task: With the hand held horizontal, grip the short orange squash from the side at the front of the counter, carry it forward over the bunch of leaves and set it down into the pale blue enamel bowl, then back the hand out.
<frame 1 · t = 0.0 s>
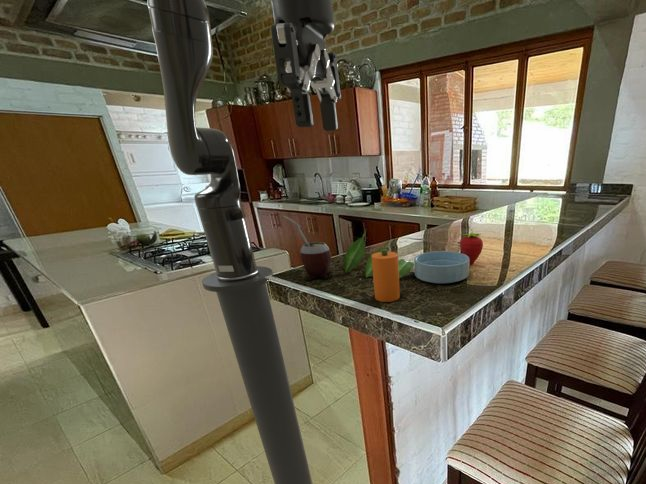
hand: (318, 128, 49), 30 cm above the countertop, tool pointing down, fingers open, 8 cm apart
strawberry: (470, 265, 89), on the countertop
leaves: (379, 274, 84), on the countertop
bowl: (441, 276, 81), on the countertop
mate gourd: (317, 277, 83), on the countertop
vegetable: (387, 297, 70), on the countertop
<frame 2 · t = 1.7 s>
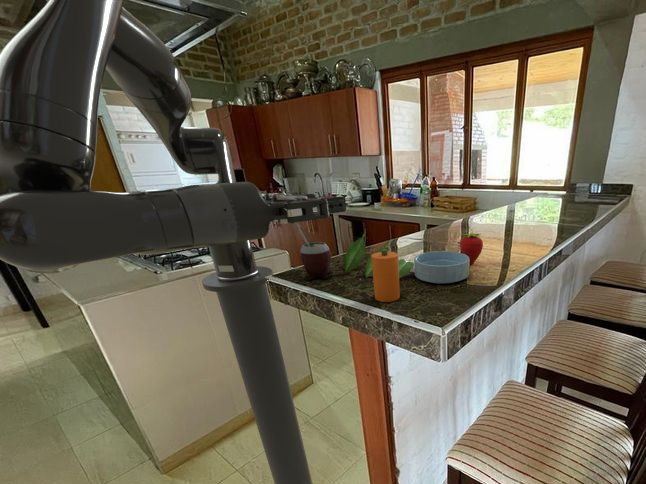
hand: (328, 201, 54), 20 cm above the countertop, tool horizontal, fingers open, 8 cm apart
nothing on the countertop moved.
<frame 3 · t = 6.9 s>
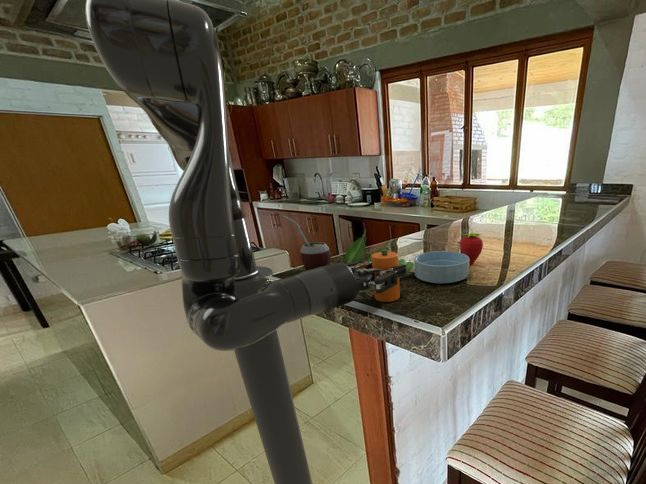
hand: (394, 266, 69), 6 cm above the countertop, tool horizontal, fingers closed on vegetable, 5 cm apart
vegetable: (387, 297, 70), on the countertop, touching gripper
everything else where it was.
when the fingers open (7 cm above the countertop, at t = 17.0 s): vegetable stays where it is, resting on bowl.
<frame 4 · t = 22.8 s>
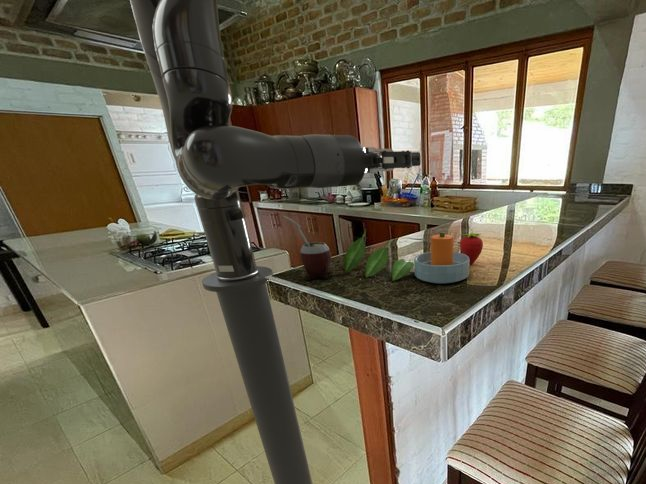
hand: (402, 159, 63), 26 cm above the countertop, tool horizontal, fingers open, 8 cm apart
vegetable: (441, 273, 81), point 1 cm above the countertop, touching bowl
everything else where it was.
at the end: vegetable inside the target area in the bowl (0.1 cm from its centre), point 0.6 cm above the bowl's base; the gripper is holding nothing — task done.
